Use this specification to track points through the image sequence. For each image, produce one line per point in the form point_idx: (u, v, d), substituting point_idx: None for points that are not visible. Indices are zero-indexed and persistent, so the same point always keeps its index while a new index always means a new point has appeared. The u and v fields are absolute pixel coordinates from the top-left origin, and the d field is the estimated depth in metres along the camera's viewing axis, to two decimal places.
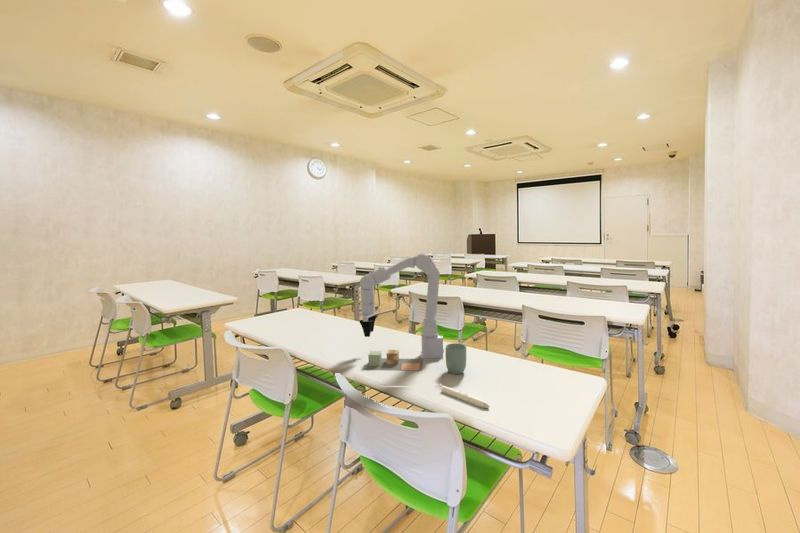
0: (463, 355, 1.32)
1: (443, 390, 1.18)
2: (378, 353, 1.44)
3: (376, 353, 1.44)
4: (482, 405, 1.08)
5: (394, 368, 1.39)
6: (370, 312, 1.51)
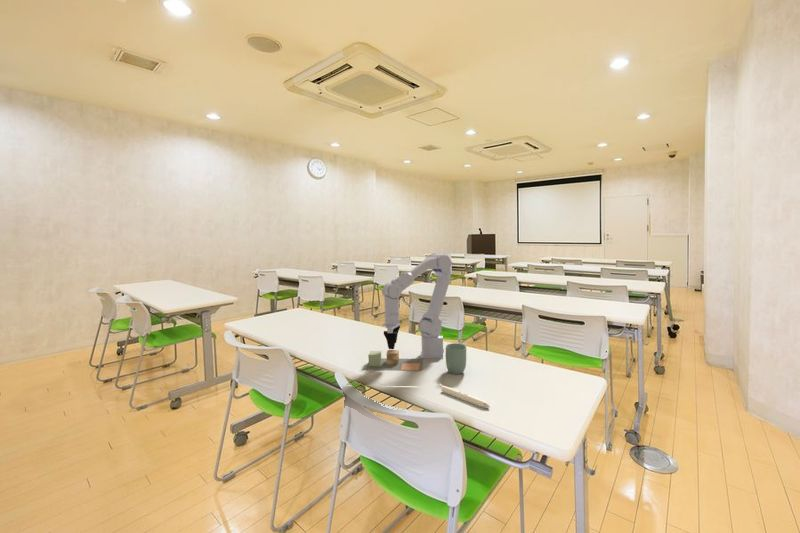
0: (463, 355, 1.32)
1: (443, 390, 1.18)
2: (378, 353, 1.44)
3: (376, 353, 1.44)
4: (482, 405, 1.08)
5: (394, 368, 1.39)
6: (394, 323, 1.42)
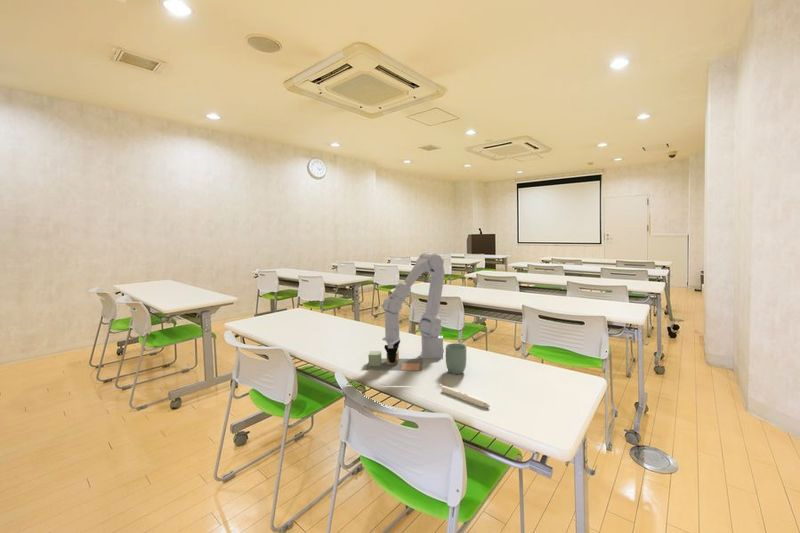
0: (463, 355, 1.32)
1: (443, 390, 1.18)
2: (378, 353, 1.44)
3: (376, 353, 1.44)
4: (482, 405, 1.08)
5: (394, 368, 1.39)
6: (395, 337, 1.42)
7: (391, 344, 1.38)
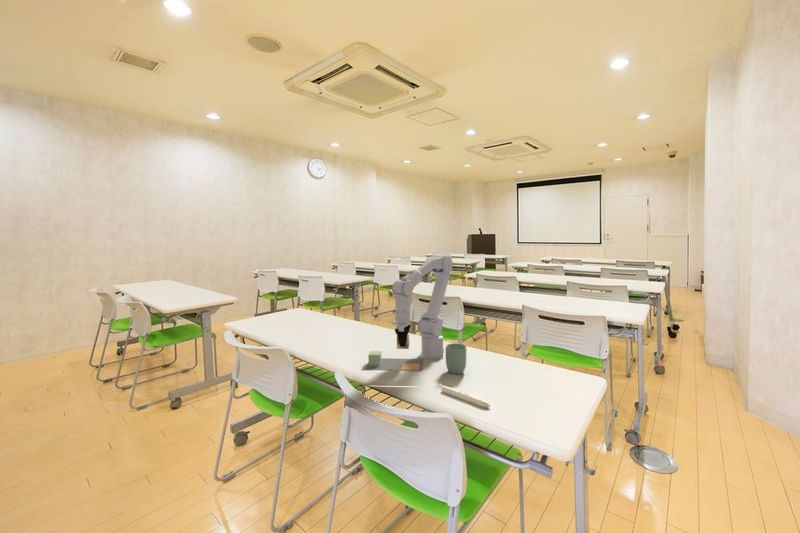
0: (463, 355, 1.32)
1: (443, 390, 1.18)
2: (378, 353, 1.44)
3: (376, 353, 1.44)
4: (483, 404, 1.08)
5: (394, 368, 1.39)
6: (405, 321, 1.39)
7: (402, 327, 1.34)
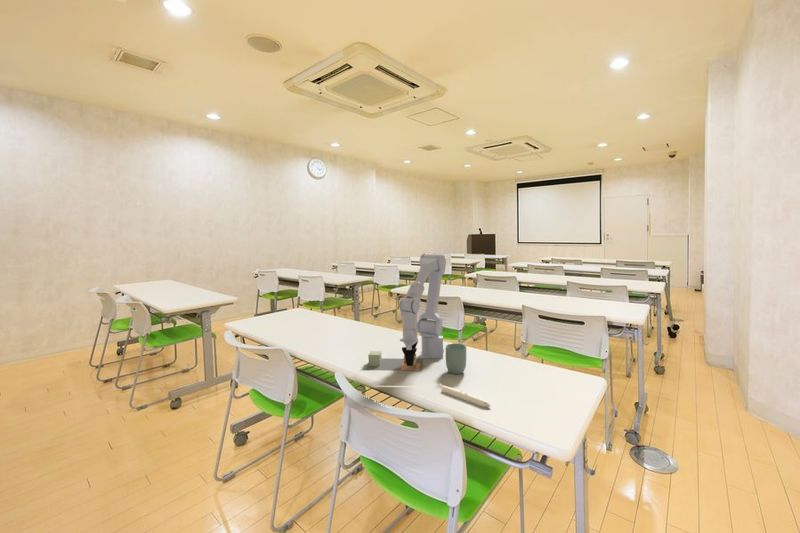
0: (463, 355, 1.32)
1: (443, 390, 1.18)
2: (378, 353, 1.44)
3: (376, 353, 1.44)
4: (483, 404, 1.08)
5: (394, 368, 1.39)
6: (413, 338, 1.37)
7: (410, 345, 1.33)
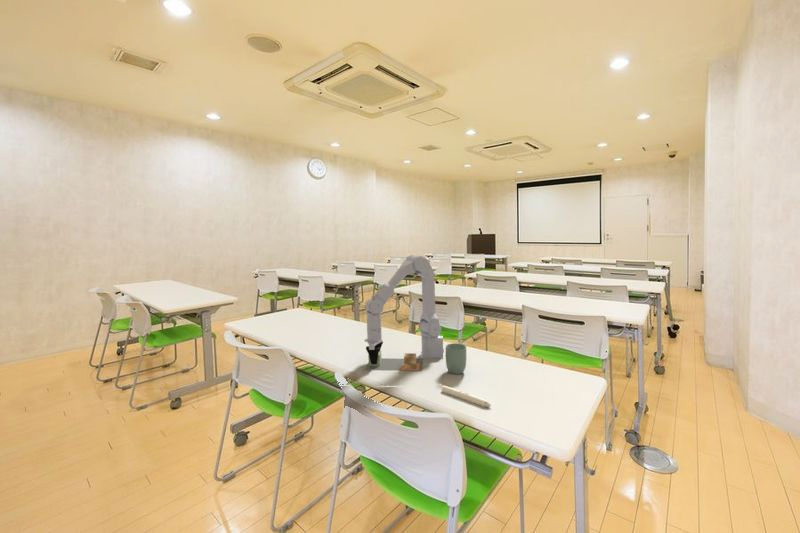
0: (463, 355, 1.32)
1: (443, 390, 1.18)
2: (378, 353, 1.44)
3: None
4: (483, 404, 1.08)
5: (394, 368, 1.39)
6: (377, 339, 1.41)
7: (372, 345, 1.37)
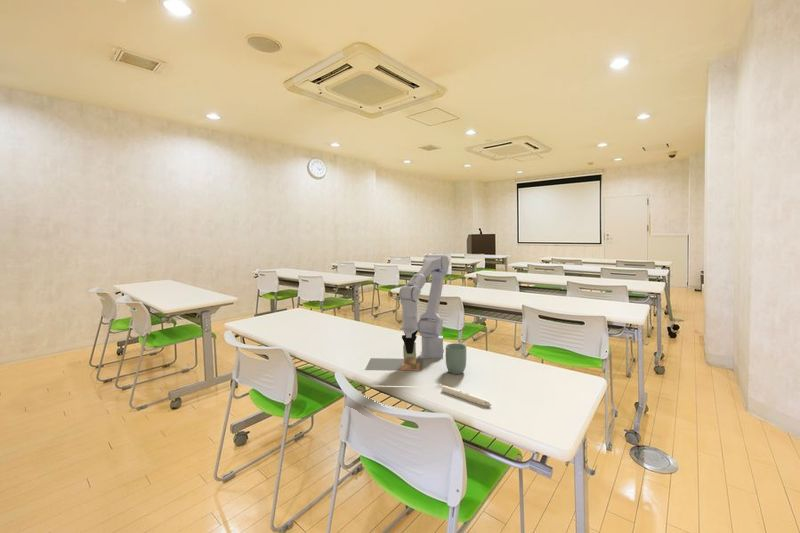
0: (463, 355, 1.32)
1: (444, 390, 1.19)
2: None
3: None
4: (484, 404, 1.08)
5: (394, 368, 1.39)
6: (413, 327, 1.37)
7: (409, 333, 1.32)
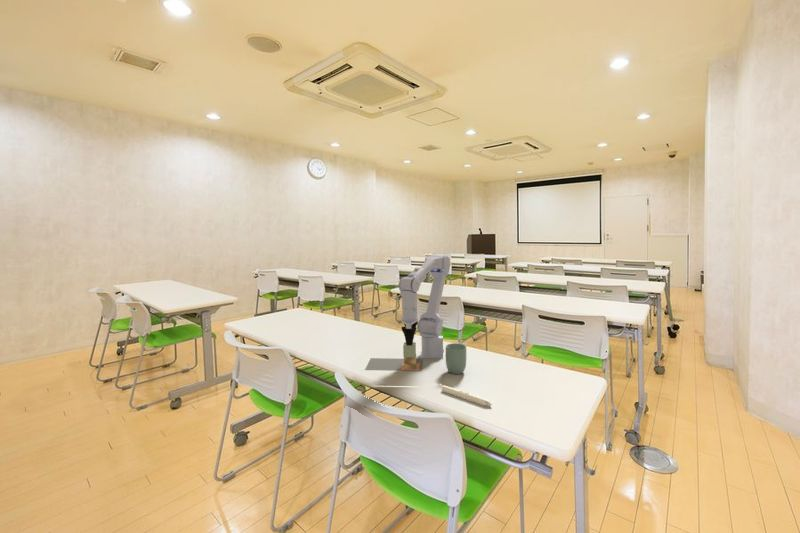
0: (463, 355, 1.32)
1: (444, 389, 1.19)
2: (412, 344, 1.39)
3: None
4: (484, 403, 1.08)
5: (394, 368, 1.39)
6: (413, 318, 1.36)
7: (409, 324, 1.32)
